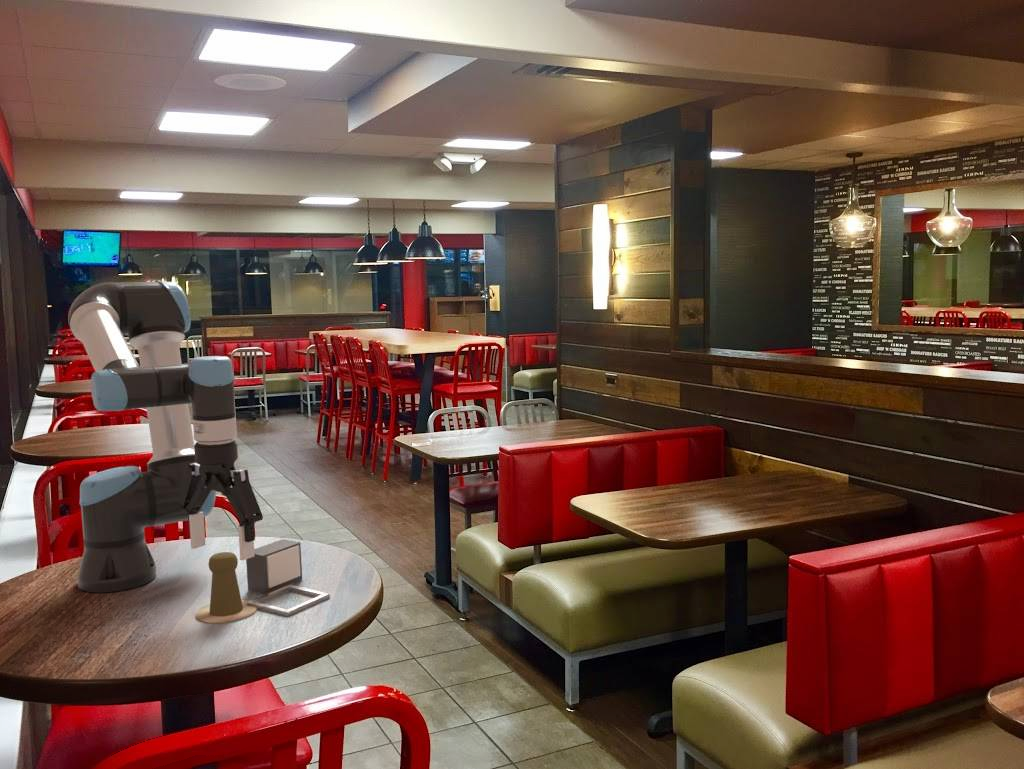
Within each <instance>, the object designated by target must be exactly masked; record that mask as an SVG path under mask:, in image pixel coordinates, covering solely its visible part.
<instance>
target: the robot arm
mask: <svg viewBox="0 0 1024 769" xmlns="http://www.w3.org/2000/svg"><path fill="white" fill-rule="evenodd" d="M190 310H191V309H190V305H189V301H188V298H187V295H186V294H185V291H184V290H183V288H182V287H181V286H180V285H179V284H178V283H176V282H174V281H160V280H154V281H123V282H120V281H119V282H115V281H114V282H113V281H112V282H111V281H110V282H101V283H97V284H95V285H92V286H90V287H89V288H86V289H85V290H83V292H81V293H80V294H79V295H78V296H77V297H76V298H75V299H74V300H73V302H72V304H71V305H70V308H69V310H68V314H67V315H68V317H67V319H68V326H69V329H70V331H71V333H72V334H73V336H74V337H75V339H77V340H78V341H80V342H81V343H82V345H83V347H84V349H85V351H86V354H87V356H88V357H89V358H88V359H89V360H90V363H91V365H92V367H93V369H94V371H95V372H93V373H92V374H91V377H90V392H91V398H92V401H93V406H94V408H95V409H96V410H98V411H100V412H113V411H114V412H121V411H126V410H137V409H146V413H147V415H146V416H147V420H148V428H149V429H148V430H149V436H150V442H151V448H152V457H151V458H150V459H149V461H148V462H147V463H146V465H147V467H146V468H147V471H142V470H140V467H138V466H135V465H127V466H118V467H113V468H109V469H105V470H102V471H99V472H96V473H92V474H90V475H88V476H87V477H85V478H84V479H83V480H82V482H81V483H80V486H79V505H80V509H81V510H80V512H81V522H82V524H81V525H82V534H83V535H82V536H83V538H82V539H83V554H82V557H81V561H80V566H79V569H78V573H77V577H76V578H77V588H78V589H79V590H81V591H83V592H88V593H112V592H120V591H126V590H130V589H133V588H137V587H139V586H140V587H141V586H143V585H145V584H147V583H150V582H152V581H153V580H154V579H155V578H156V577H157V566H156V565H157V564H156V562H155V560H154V558H153V554H152V553H151V551H150V549H149V546H148V545H147V542H146V536H145V535H146V534H145V528H148V527H155V526H160V525H166V524H173V523H179V522H187V523H188V530H189V533H190V534H189V536H190V548H191V549H193V550H195V549H198V548H201V547H204V546H206V534H205V533H206V531H205V517H207V516H209V515H210V514H211V513H212V511H213V509H214V507H215V501H216V497H217V493H221V495H222V496H223V497H226V500H228V503H229V504H230V506H231V508H232V509H233V512H234V513H235V514H236V516H237V518H238V520H239V521H240V523H239V524H238V526H237V528H238V530H237V531H238V543H239V544H238V545H239V560H240V561H246V559H249V558H251V557H254V556H255V554H254V549H255V541H256V530H255V529H256V526H255V524H256V523H257V522H261V521H263V518H264V516H263V513H262V511H261V508H260V505H259V502H258V499H257V497H256V495H255V493H254V490H253V487H252V485H251V482H250V479H249V478H250V476H249V472H248V471H249V470H248V469H247V468H243V469H239V470H238V469H236V467H235V463H236V461H237V460H238V458H239V453H238V441H236V438H237V437H238V432H237V418H236V403H235V384H234V382H235V381H234V380H235V372H234V370H233V363H232V359H231V358H230V357H228V356H221V355H210V356H199V357H198V356H197V357H193V358H192V359H190V361H188V362H185V363H183V364H182V358H181V350H180V345H181V343H182V342H183V341H184V340H185V338H186V336H185V334H186V333H187V332H188V331H190V328H191V326H192V325H191V324H192V322H191V321H192V319H191V311H190ZM125 336H127V337H128V342H127V340H126V339H125ZM129 345H130V346H131V347H133V348H135V349H136V350H137V352H138V359H139V363H138V361H137V358H136V357H135V355H134V353H133V351H132V349H131V348H130V346H129ZM190 404H191V413H192V415H191V416H192V422H191V416H190V409H189V405H190ZM192 425H193V426H192ZM194 441H196V442H194Z"/></svg>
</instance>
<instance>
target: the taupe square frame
mask: <svg viewBox="0 0 1024 769" xmlns="http://www.w3.org/2000/svg"><path fill="white" fill-rule="evenodd" d="M288 592H292V593H297V594H301V595H306V596H311V597H313V598H311V599H309V600H307V601H304V602H302V603H300V604H297V605H295V606H293V607H291V608H287V609H286V608H283V607H278V606H275V605H271V604H267V603H264V602H266V601H269V600H271V599H273V598H275V597H278V596H280V595H282V594H285V593H288ZM330 596H331V595H330V593H327V592H324V591H319V590H315V589H310V588H306V587H303V586H297V585H293V584H291V585H287V586H285V587H282V588H280V589H277V590H275V591H273V592H270V593H268V594H265V595H264V594H262V595H261V596H258V597H256V598H253V599H251V600H247V601H248V602H247V605H251V606H255V607H257V610H262V611H265V612H268V613H272V614H275V615H281V616H284V617H290V616H293V615H295V614H297V613H299V612H300V611H303V610H306V609H307V608H310V607H313V606H314V605H316V604H319V603H321V602H324V601H325V600H328V599H330V598H331V597H330Z"/></svg>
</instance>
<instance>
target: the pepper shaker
mask: <svg viewBox="0 0 1024 769" xmlns="http://www.w3.org/2000/svg"><path fill="white" fill-rule="evenodd" d="M238 562H239V560H238V557H237V555H236V554H235V553H234V552H231V551H223V552H218V553H214V554H212V555H211V556H210V557H209V560H208V568H209V570H210V572H211V574H212V575H211V585H210V588H211V589H210V598H209V600H210V601H209V602H210V603H209V605H210V614H211V615H213V616H230V615H234V614H237V613H239V612H241V611H242V610H243V606H242V601H241V600H242V597H241V593H240V588H239V583H238V577H237V573H236V569H237V567H238V564H239V563H238Z"/></svg>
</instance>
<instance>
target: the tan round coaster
mask: <svg viewBox="0 0 1024 769" xmlns="http://www.w3.org/2000/svg"><path fill="white" fill-rule="evenodd" d="M241 601H242V606H243V610H242V611H241V612H239V613H237V614H234V615H230V616H213V615H211V614H210V604H207V605H204V606H202V607H201V608H199V609H198V610H197V611H196V612H195V618H196V620H197V621H199V622H202V623H206V624H226V623H232V622H236V621H241V620H243V619H246V618H249V617H251V616H252V615H253V614H255V613H256V612H257V610H258V609H257V607H255V606H251V605H247V602H248V601H249V600H245V599H241Z"/></svg>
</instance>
